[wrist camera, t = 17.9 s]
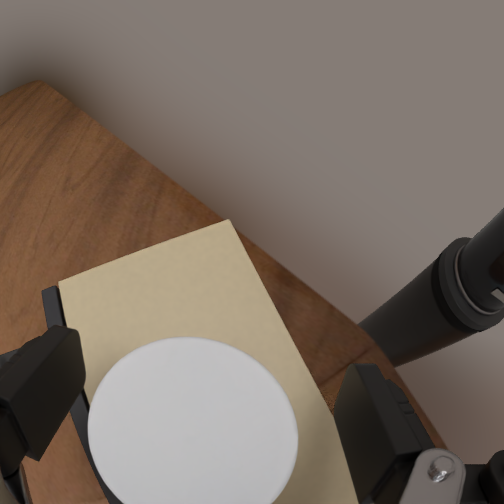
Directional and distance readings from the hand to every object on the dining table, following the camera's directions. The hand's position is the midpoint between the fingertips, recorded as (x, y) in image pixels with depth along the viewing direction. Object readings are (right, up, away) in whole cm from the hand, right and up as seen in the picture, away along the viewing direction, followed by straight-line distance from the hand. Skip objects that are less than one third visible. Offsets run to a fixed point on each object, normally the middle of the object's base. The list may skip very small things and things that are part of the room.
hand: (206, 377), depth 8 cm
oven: (-2, -10, +15) cm, 18 cm away
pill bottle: (-1, -4, +4) cm, 5 cm away
